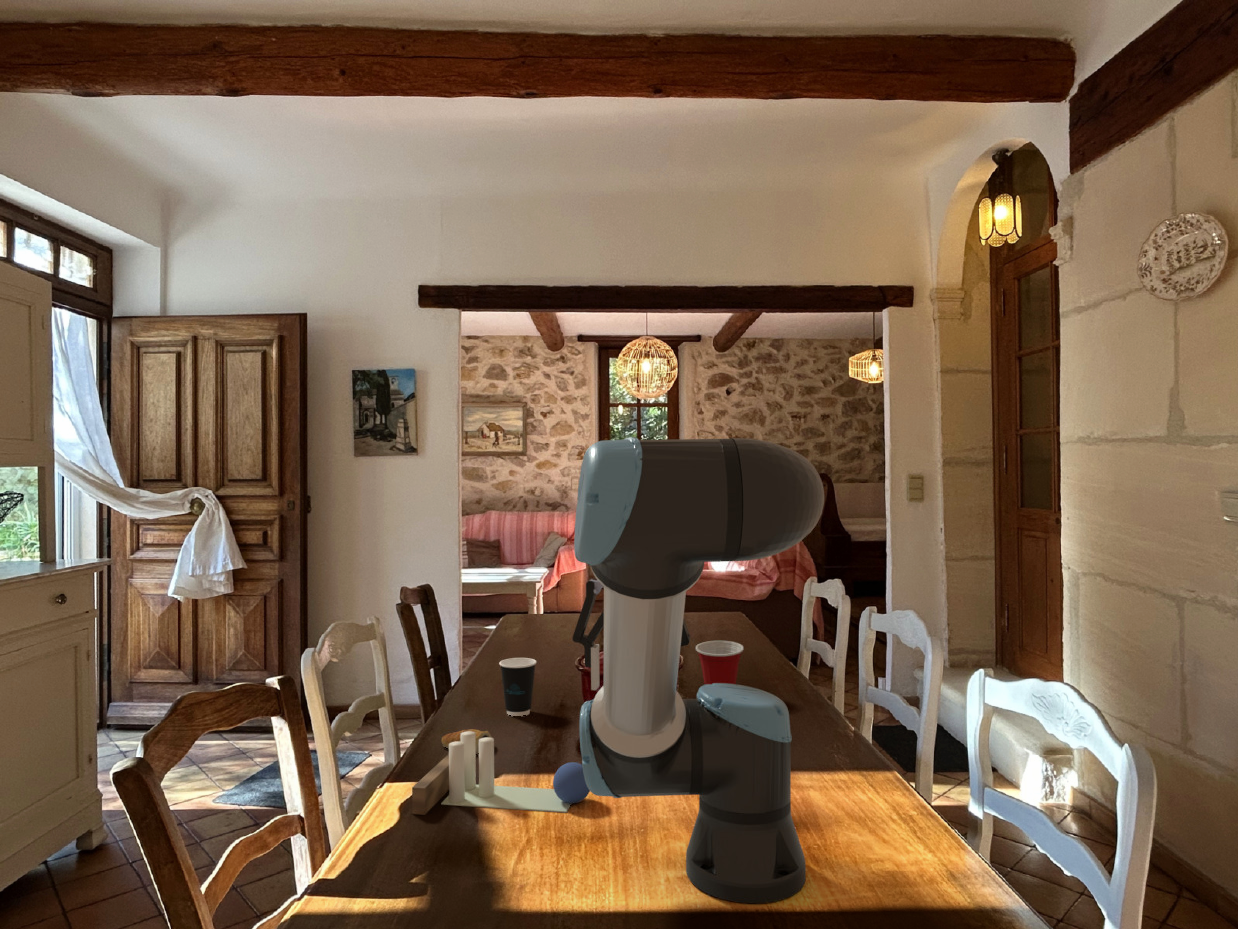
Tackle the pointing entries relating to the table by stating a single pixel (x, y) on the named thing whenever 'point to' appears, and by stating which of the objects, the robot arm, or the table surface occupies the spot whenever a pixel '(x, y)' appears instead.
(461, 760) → the pin rear right
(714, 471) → the robot arm
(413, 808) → the wall
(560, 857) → the table surface
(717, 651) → the plastic cup
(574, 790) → the ball
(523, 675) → the dixie cup
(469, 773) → the pin rear left
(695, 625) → the table surface
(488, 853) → the table surface
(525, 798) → the strip
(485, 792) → the pin front
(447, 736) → the pastry
